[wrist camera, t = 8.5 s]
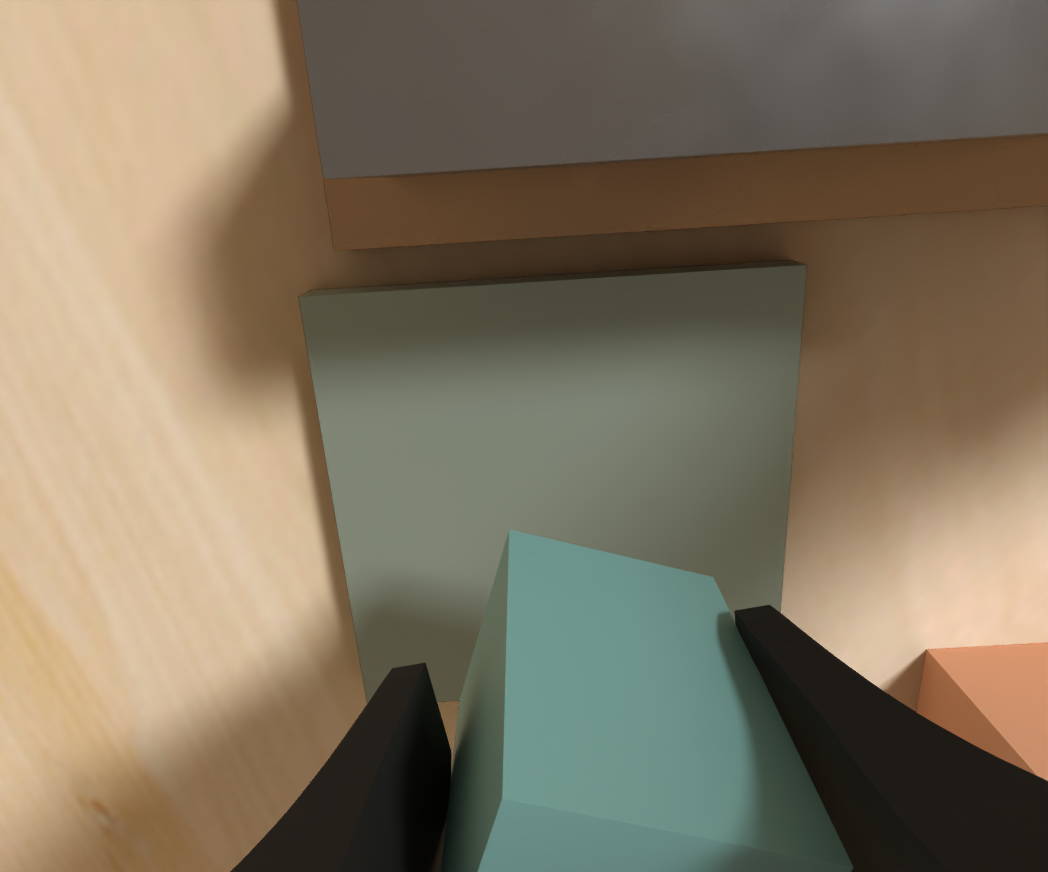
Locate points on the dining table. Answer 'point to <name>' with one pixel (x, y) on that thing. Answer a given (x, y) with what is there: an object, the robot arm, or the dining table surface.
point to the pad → (551, 437)
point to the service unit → (669, 113)
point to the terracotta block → (991, 699)
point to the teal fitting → (622, 730)
